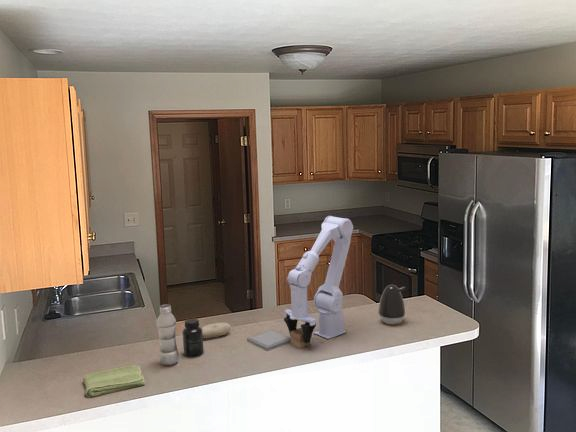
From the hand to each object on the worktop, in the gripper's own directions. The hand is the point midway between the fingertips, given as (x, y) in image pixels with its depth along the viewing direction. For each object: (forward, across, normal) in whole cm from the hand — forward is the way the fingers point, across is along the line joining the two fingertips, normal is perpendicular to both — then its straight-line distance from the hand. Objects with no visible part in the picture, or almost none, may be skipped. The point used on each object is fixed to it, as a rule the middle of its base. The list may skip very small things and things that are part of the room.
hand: (300, 339), depth 193 cm
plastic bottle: (+2, -19, -42) cm, 46 cm away
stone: (+2, -28, -18) cm, 33 cm away
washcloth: (+3, -18, -61) cm, 64 cm away
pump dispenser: (+2, +9, +40) cm, 41 cm away
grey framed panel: (+2, -10, -6) cm, 12 cm away
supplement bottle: (+2, -20, -32) cm, 38 cm away
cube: (+2, 0, 0) cm, 2 cm away
